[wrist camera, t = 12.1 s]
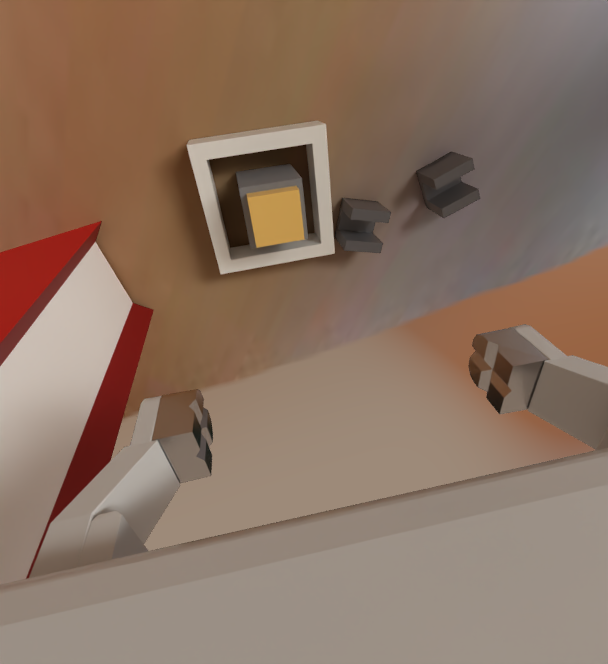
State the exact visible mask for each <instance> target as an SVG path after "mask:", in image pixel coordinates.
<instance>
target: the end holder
mask: <svg viewBox="0 0 608 664" xmlns="http://www.w3.org/2000/svg"><path fill="white" fill-rule="evenodd" d="M305 144H306V150H307V160H308V170H309V180H310V190H311V200H312V210H313V220H314V230H315V233H311V234H308V239H305V240H299V241H294V242H288V243H282V244H276V245H270V246H265V247H259V248H253V249H251V248H250V244H249V245H243V246H238V247H232V248H230V246H229V241H228V237H227V233H226V229H225V225H224V220H223V216H222V212H221V208H220V204H219V199H218V195H217V191H216V187H215V183H214V178H213V174H212V170H211V166H210V162H209V159H216V158H222V157H228V156H235V155H241V154H248V153H254V152H260V151H267V150H273V149H280V148H286V147H293V146H299V145H305ZM187 149H188V153H189V157H190V160H191V164H192V168H193V172H194V176H195V179H196V183H197V187H198V191H199V194H200V198H201V202H202V206H203V210H204V213H205V217H206V221H207V225H208V228H209V232H210V236H211V240H212V244H213V247H214V251H215V255H216V259H217V262H218V266H219V270H220V274H226V273H231V272H237V271H242V270H248V269H253V268H259V267H264V266H270V265H275V264H281V263H286V262H291V261H297V260H302V259H308V258H313V257H319V256H324V255H330V254H335V247H334V233H333V219H332V204H331V190H330V175H329V161H328V147H327V132H326V124H325V123H322V122H320V121H312V122H305V123H298V124H292V125H285V126H279V127H272V128H265V129H259V130H252V131H245V132H239V133H232V134H225V135H219V136H212V137H206V138H199V139H192V140H189V141H188V143H187Z"/></svg>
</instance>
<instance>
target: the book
mask: <svg viewBox="0 0 608 664" xmlns="http://www.w3.org/2000/svg"><path fill="white" fill-rule="evenodd" d="M101 222H102V221H100V222H97V223H94V224H90V225H87V226H84V227H81V228H78V229H74V230H71V231H68V232H65V233H62V234H58V235H55V236H52V237H49V238H46V239H42V240H39V241H36V242H33V243H30V244H26V245H23V246H20V247H17V248H14V249H10V250H7V251H4V252H1V253H0V584H5V583H9V582H14V581H18V580H23V579H27V578H29V576H30V574H31V571H32V569H33V566H34V564H35V561H36V559H37V556H38V554H39V551H40V549H41V546H42V543H43V541H44V538H45V536H46V533H47V531H48V528H49V526H50V523H51V522H52V521H53V520H54V519H55V518H56V517H57V516H58V515H59V514H60V513H61V512H62V511H63V510H64V509H65V508H66V507H67V506H68V505H69V504H70V503H71V502H72V500H73V499H74V498H75V497H76V496H77V495H78V494H79V493H80V492H81V491H82V490H83V489H84V488H85V487H86V486H87V485H88V484H89V483H90V482H91V481H92V480H93V479H94V478H95V477H96V476H97V475H98V474H99V473H100V471H101V470H102V469H103V468H104V467H105V466H106V465H107V464H108V463H109V462H110V460H111V456H112V453H113V450H114V446H115V443H116V439H117V436H118V432H119V429H120V425H121V422H122V418H123V415H124V411H125V408H126V404H127V401H128V397H129V394H130V390H131V387H132V383H133V380H134V376H135V373H136V369H137V366H138V362H139V359H140V355H141V352H142V348H143V345H144V341H145V338H146V335H147V331H148V328H149V324H150V321H151V317H152V314H153V310H152V309H149V308H146V307H143V306H140V305H137V304H134V303H132V301H131V299H130V298H129V296H128V294H127V293H126V291H125V289H124V288H123V286H122V285H121V283H120V281H119V280H118V278H117V276H116V275H115V273H114V271H113V270H112V268H111V267H110V265H109V263H108V262H107V260H106V258H105V257H104V255H103V253H102V252H101V250H100V249H99V247H98V245H97V244H96V242H95V241H96V238H97V235H98V232H99V228H100V225H101Z"/></svg>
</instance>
